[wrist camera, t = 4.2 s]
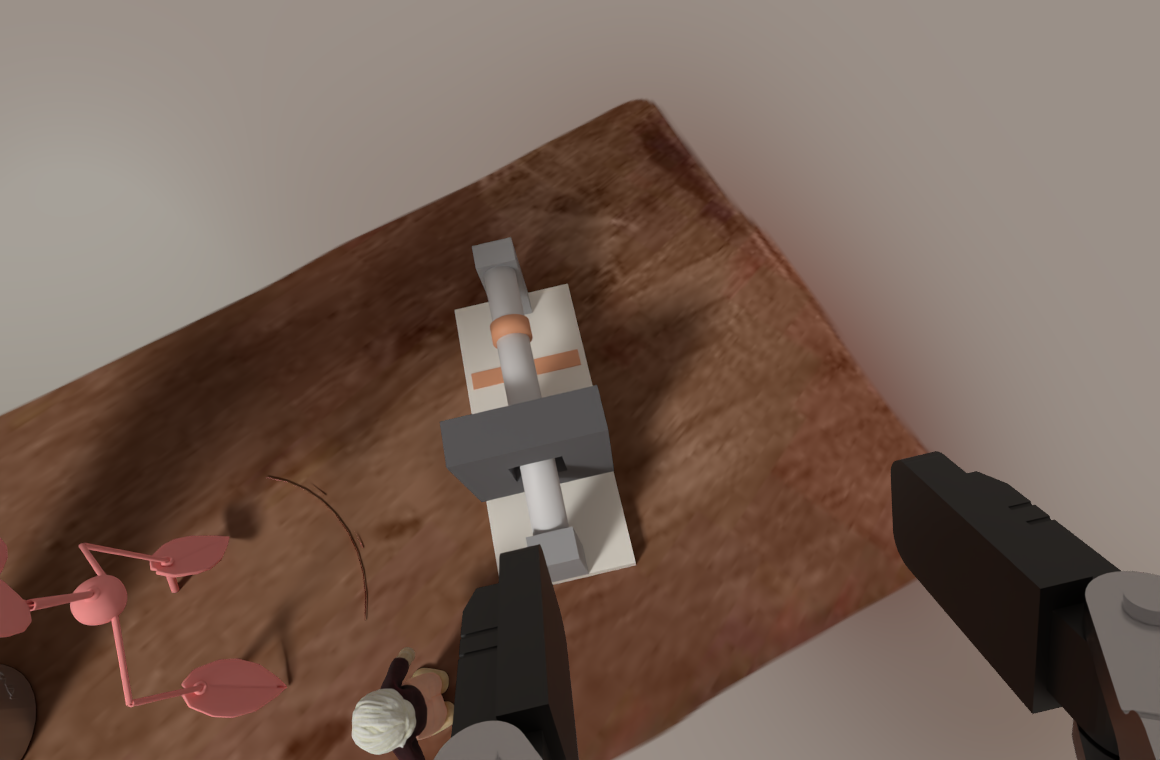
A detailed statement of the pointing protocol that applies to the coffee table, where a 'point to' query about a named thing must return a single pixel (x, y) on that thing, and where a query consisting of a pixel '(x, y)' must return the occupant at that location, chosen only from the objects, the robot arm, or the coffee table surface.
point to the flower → (102, 600)
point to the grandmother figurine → (403, 710)
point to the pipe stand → (527, 372)
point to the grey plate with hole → (528, 442)
